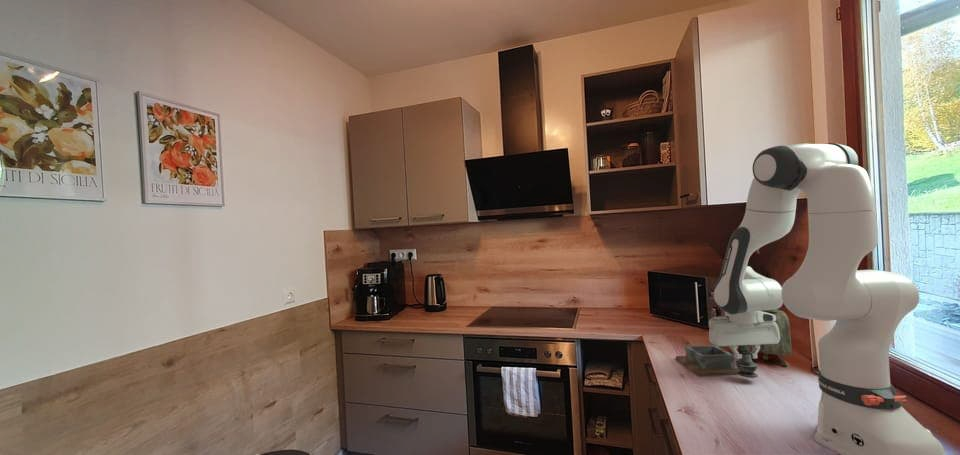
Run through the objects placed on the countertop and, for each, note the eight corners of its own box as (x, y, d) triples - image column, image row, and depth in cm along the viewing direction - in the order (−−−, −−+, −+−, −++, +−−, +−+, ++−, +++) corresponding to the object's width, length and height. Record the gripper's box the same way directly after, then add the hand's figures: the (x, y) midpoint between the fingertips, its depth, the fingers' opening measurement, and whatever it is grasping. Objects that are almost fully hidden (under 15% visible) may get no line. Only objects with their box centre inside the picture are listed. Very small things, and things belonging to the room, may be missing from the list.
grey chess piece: (751, 371, 115) (747, 334, 116) (763, 377, 109) (759, 339, 110) (732, 371, 116) (728, 335, 116) (743, 378, 110) (739, 340, 111)
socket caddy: (748, 374, 118) (746, 357, 118) (699, 376, 119) (697, 359, 119) (718, 357, 134) (717, 342, 134) (676, 359, 135) (674, 344, 135)
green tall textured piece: (793, 369, 119) (787, 296, 120) (760, 365, 124) (754, 295, 125) (784, 355, 132) (778, 289, 132) (754, 352, 137) (748, 288, 137)
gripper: (714, 319, 111) (718, 363, 110) (781, 315, 110) (786, 360, 109) (702, 315, 117) (706, 356, 117) (766, 311, 116) (770, 353, 115)
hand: (745, 358), depth 113 cm, fingers open, 3 cm apart
